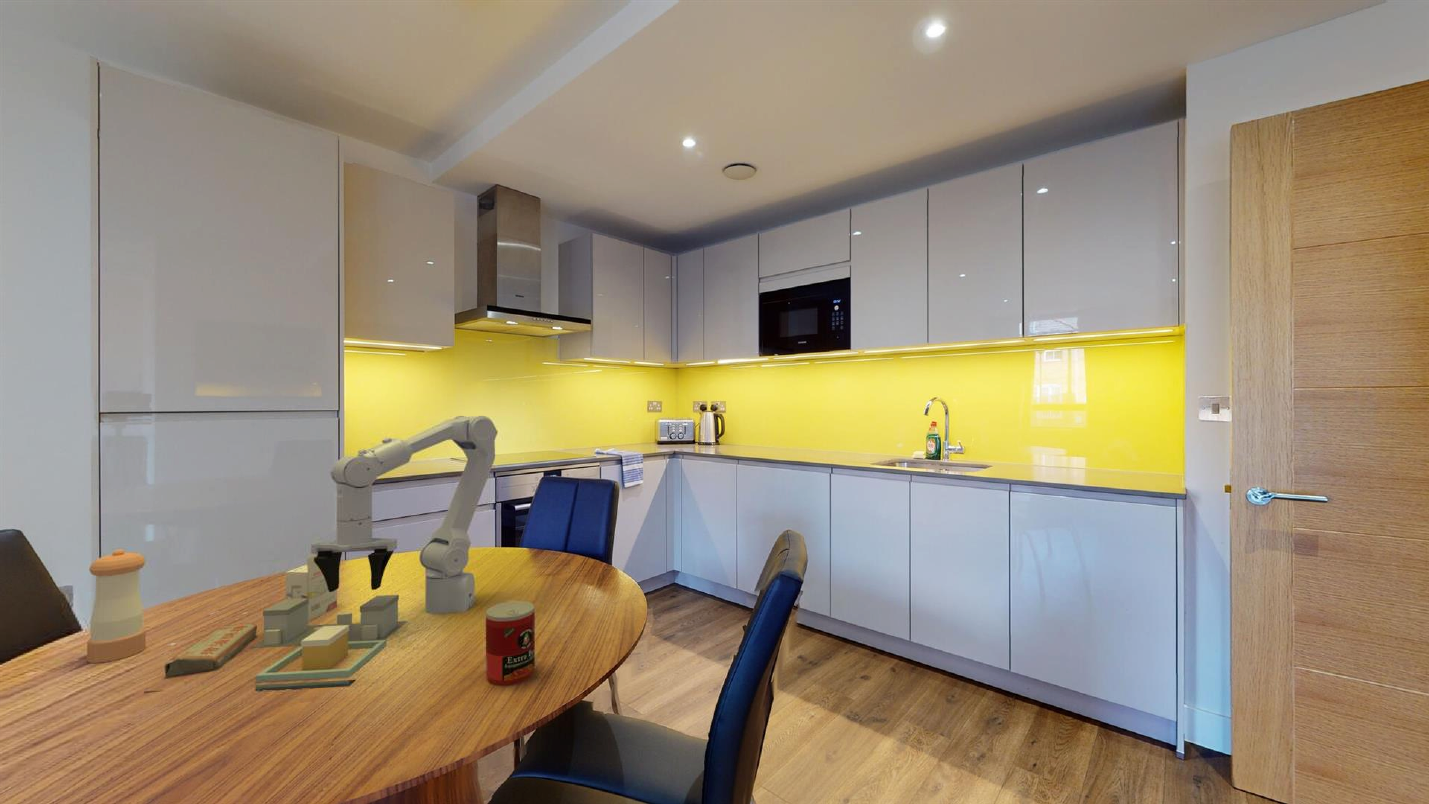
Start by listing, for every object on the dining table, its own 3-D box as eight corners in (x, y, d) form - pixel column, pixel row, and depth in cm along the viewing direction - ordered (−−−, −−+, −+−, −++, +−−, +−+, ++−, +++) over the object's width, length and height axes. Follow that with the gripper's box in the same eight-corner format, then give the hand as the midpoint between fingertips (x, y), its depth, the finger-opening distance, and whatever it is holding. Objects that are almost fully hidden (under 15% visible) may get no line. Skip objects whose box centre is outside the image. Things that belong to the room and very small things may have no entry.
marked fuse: (349, 659, 96) (349, 625, 96) (328, 675, 90) (328, 639, 90) (323, 660, 96) (323, 626, 96) (300, 677, 90) (301, 640, 90)
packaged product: (206, 624, 103) (270, 617, 106) (206, 650, 103) (269, 642, 106) (142, 666, 86) (219, 656, 89) (141, 697, 86) (219, 686, 89)
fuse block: (407, 628, 111) (407, 608, 111) (383, 649, 101) (383, 627, 102) (287, 634, 109) (287, 613, 109) (249, 656, 99) (250, 634, 99)
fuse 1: (308, 628, 108) (308, 598, 108) (287, 642, 102) (287, 609, 102) (285, 630, 107) (285, 599, 107) (262, 643, 101) (263, 610, 101)
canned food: (506, 690, 86) (506, 620, 86) (475, 678, 90) (475, 611, 90) (545, 671, 92) (544, 605, 93) (514, 660, 97) (514, 597, 97)
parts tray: (386, 653, 100) (386, 639, 100) (349, 686, 88) (349, 670, 88) (304, 657, 98) (304, 643, 98) (255, 691, 86) (255, 675, 86)
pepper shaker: (132, 643, 105) (133, 544, 106) (154, 648, 103) (155, 546, 103) (77, 659, 98) (79, 553, 99) (100, 665, 96) (102, 556, 96)
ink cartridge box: (315, 613, 120) (316, 546, 121) (337, 613, 120) (338, 546, 121) (284, 628, 112) (284, 557, 112) (308, 628, 112) (308, 556, 112)
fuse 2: (398, 624, 109) (398, 594, 110) (383, 637, 103) (383, 605, 103) (376, 625, 109) (376, 595, 109) (359, 638, 103) (359, 606, 103)
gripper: (300, 524, 100) (300, 598, 100) (384, 521, 102) (384, 594, 101) (323, 516, 107) (323, 586, 107) (401, 514, 109) (402, 582, 108)
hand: (355, 589), depth 105 cm, fingers open, 7 cm apart
